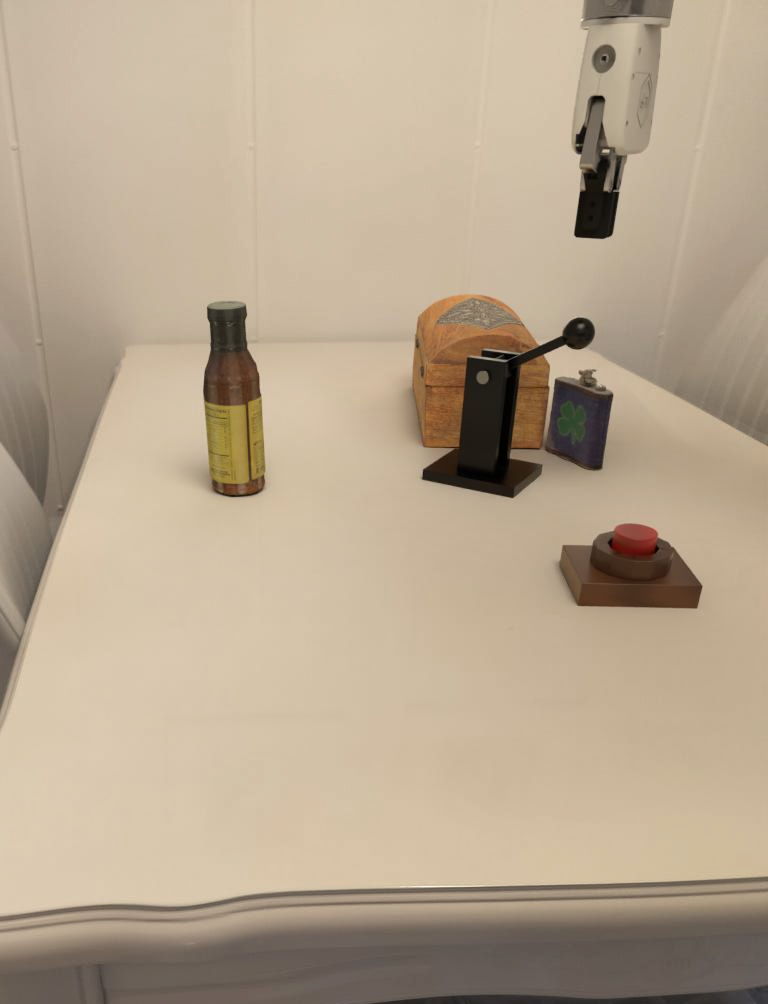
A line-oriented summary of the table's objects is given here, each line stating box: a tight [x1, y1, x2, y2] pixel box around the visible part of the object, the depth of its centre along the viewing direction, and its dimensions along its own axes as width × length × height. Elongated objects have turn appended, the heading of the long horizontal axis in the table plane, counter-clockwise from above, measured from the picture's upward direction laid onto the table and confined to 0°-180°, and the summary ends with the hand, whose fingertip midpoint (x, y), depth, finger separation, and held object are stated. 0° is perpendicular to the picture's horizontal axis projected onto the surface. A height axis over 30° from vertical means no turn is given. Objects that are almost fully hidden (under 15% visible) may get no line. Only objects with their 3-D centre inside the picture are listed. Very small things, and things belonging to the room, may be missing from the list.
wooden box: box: [412, 294, 551, 449], centre depth 124 cm, size 30×16×14 cm, turn 175°
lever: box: [495, 316, 596, 378], centre depth 97 cm, size 13×3×3 cm
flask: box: [545, 368, 614, 471], centre depth 109 cm, size 9×3×11 cm, turn 24°
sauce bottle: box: [202, 300, 266, 496], centre depth 98 cm, size 7×6×20 cm
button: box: [611, 522, 659, 556], centre depth 79 cm, size 4×4×2 cm
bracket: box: [421, 349, 543, 499], centre depth 103 cm, size 11×9×14 cm
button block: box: [558, 530, 703, 609], centre depth 80 cm, size 10×8×4 cm
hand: (593, 236), depth 89 cm, fingers closed
